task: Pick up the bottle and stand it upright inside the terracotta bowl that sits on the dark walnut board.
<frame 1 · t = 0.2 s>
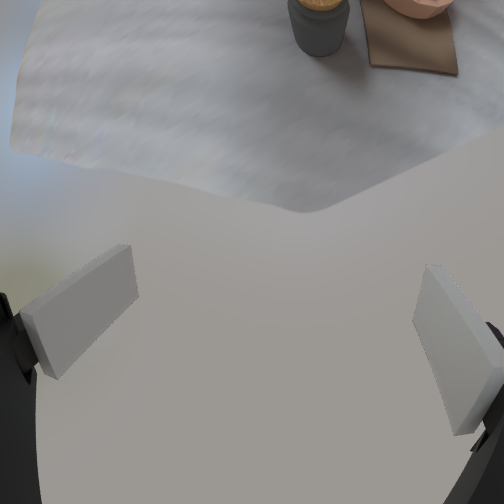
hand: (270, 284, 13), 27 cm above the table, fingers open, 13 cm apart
bottle: (318, 37, 31), on the table
board: (404, 8, 27), on the table
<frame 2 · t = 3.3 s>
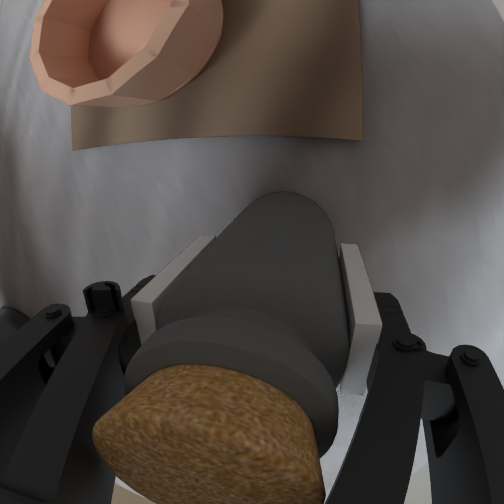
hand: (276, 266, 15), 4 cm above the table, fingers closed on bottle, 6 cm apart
bottle: (284, 239, 18), on the table, touching gripper
terracotta bowl: (146, 31, 14), resting on board
board: (199, 41, 15), on the table
when the fingers open (8 cm above the table, at t = 8.6 s): bottle drops 2 cm, resting on terracotta bowl.
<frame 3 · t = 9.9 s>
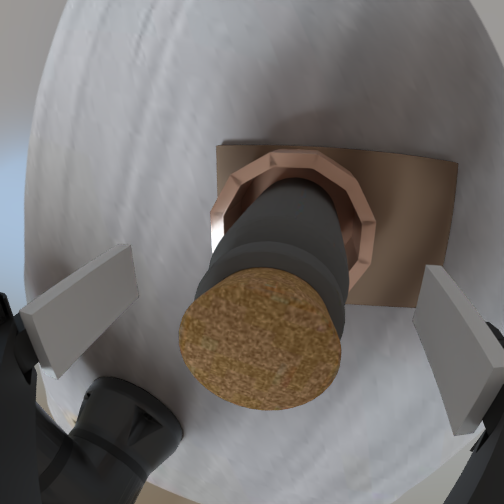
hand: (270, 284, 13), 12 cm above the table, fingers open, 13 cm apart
bottle: (295, 216, 22), point 1 cm above the table, touching terracotta bowl
terracotta bowl: (297, 215, 23), resting on board
board: (337, 227, 23), on the table
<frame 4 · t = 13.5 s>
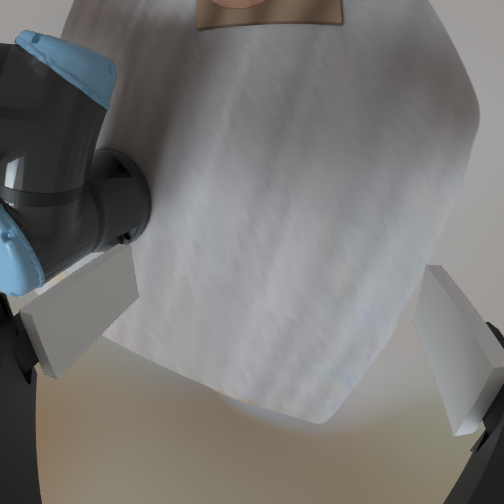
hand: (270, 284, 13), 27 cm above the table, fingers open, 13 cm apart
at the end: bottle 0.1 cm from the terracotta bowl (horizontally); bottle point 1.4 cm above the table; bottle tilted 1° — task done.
